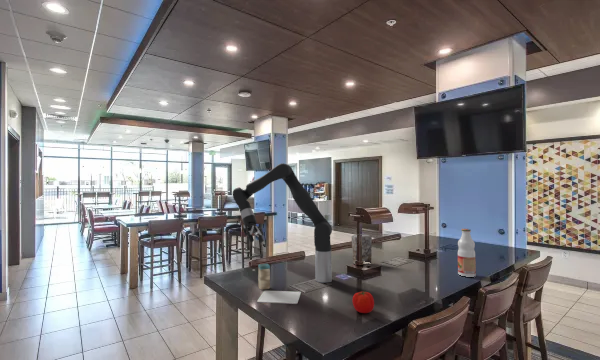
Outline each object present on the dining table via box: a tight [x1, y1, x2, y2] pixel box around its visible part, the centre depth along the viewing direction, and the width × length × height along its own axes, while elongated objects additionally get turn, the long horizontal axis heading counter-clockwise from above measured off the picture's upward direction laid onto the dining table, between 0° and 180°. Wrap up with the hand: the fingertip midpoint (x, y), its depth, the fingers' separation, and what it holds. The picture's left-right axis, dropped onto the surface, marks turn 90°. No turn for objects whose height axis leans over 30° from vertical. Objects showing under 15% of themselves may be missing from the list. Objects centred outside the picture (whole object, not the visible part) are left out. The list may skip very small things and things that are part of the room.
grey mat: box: [256, 290, 302, 305], centre depth 149 cm, size 19×15×1 cm
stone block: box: [351, 234, 373, 264], centre depth 212 cm, size 13×7×20 cm, turn 116°
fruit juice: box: [457, 228, 477, 278], centre depth 183 cm, size 9×9×28 cm
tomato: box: [352, 290, 375, 314], centre depth 131 cm, size 9×10×8 cm
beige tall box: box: [257, 263, 271, 291], centre depth 163 cm, size 5×5×12 cm
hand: (257, 241), depth 175 cm, fingers open, 8 cm apart
